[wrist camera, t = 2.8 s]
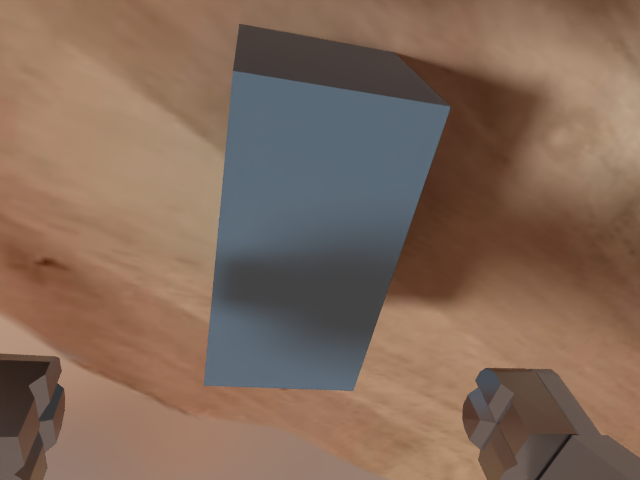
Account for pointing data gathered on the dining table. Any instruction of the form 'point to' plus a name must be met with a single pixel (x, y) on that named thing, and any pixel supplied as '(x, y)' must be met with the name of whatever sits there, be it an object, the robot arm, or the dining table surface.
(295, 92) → the blue-grey rectangular block
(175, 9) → the dining table surface
